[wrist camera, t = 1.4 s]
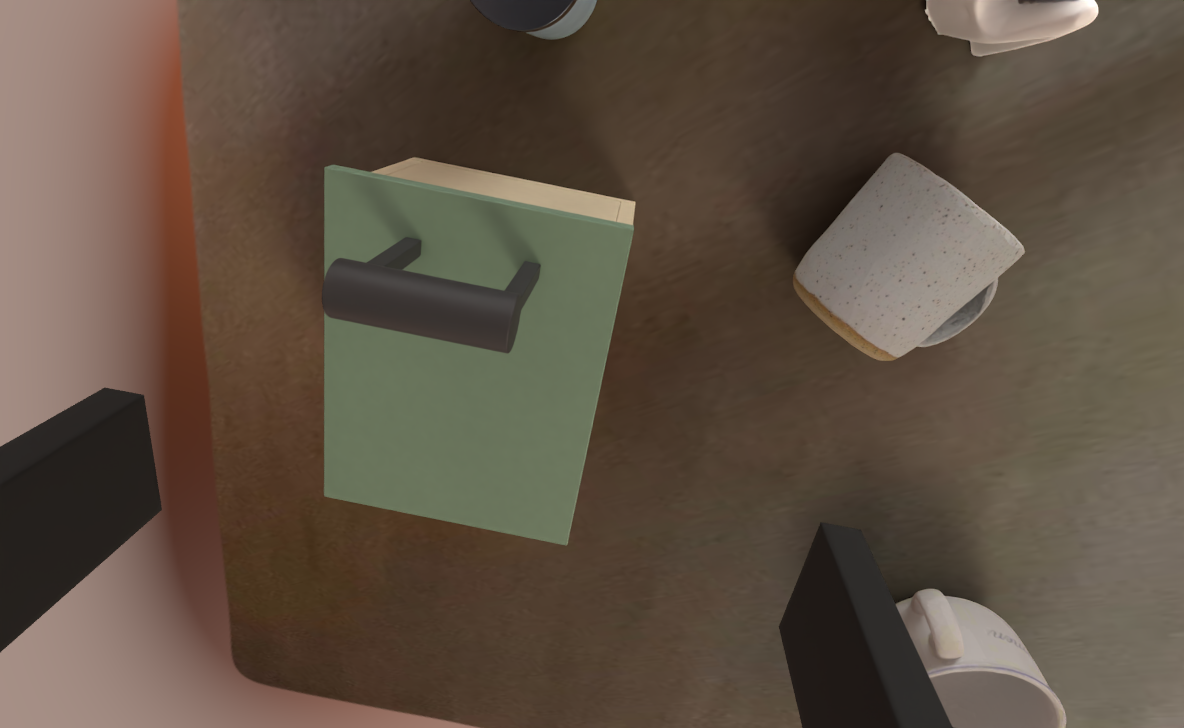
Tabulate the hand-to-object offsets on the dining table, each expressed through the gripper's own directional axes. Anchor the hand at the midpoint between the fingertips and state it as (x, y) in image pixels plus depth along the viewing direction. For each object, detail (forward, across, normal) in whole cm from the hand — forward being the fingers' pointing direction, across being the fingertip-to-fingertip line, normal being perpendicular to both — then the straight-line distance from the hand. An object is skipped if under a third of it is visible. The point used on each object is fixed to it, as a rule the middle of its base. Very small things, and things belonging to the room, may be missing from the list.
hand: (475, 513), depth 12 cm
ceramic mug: (+26, +17, +2) cm, 31 cm away
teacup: (+26, +28, -23) cm, 45 cm away
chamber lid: (+16, -4, -5) cm, 17 cm away
